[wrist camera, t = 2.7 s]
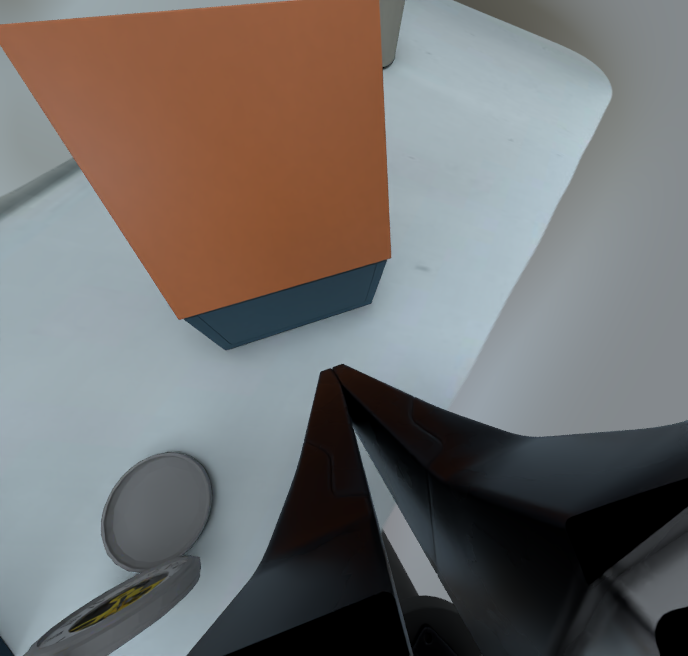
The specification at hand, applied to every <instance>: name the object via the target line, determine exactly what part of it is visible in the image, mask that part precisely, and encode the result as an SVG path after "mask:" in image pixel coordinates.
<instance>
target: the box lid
mask: <svg viewBox="0 0 688 656" xmlns="http://www.w3.org/2000/svg"><path fill="white" fill-rule="evenodd" d="M0 45H1V47H2V48H3V50H4V52H5V53H6V55H7V56H8V58H9V59H10V61H11V62H12V64H13V65H14V67H15V68H16V70H17V71H18V73H19V75H20V76H21V78H22V79H23V81H24V82H25V84H26V85H27V87H28V88H29V90H30V92H31V93H32V95H33V96H34V98H35V99H36V101H37V102H38V104H39V105H40V107H41V108H42V110H43V112H44V113H45V115H46V116H47V118H48V119H49V121H50V122H51V124H52V125H53V127H54V129H55V130H56V132H57V133H58V135H59V136H60V138H61V139H62V141H63V142H64V144H65V145H66V147H67V148H68V150H69V152H70V153H71V155H72V156H73V158H74V159H75V161H76V162H77V164H78V166H79V167H80V169H81V170H82V172H83V173H84V175H85V176H86V178H87V179H88V181H89V182H90V184H91V186H92V187H93V189H94V190H95V192H96V193H97V195H98V196H99V198H100V199H101V201H102V202H103V204H104V206H105V207H106V209H107V210H108V212H109V213H110V215H111V216H112V218H113V219H114V221H115V222H116V224H117V226H118V227H119V229H120V230H121V232H122V233H123V235H124V236H125V238H126V239H127V241H128V242H129V244H130V246H131V247H132V249H133V250H134V252H135V253H136V255H137V256H138V258H139V259H140V261H141V263H142V264H143V266H144V267H145V269H146V270H147V272H148V273H149V275H150V276H151V278H152V279H153V281H154V283H155V284H156V286H157V287H158V289H159V290H160V292H161V293H162V295H163V296H164V298H165V299H166V301H167V303H168V304H169V306H170V307H171V309H172V310H173V312H174V313H175V315H176V316H177V318H178V319H179V320H181V319H184V318H187V317H191V316H194V315H198V314H201V313H205V312H208V311H211V310H215V309H218V308H222V307H225V306H229V305H232V304H235V303H239V302H242V301H246V300H249V299H253V298H256V297H259V296H263V295H266V294H270V293H273V292H277V291H280V290H283V289H287V288H290V287H294V286H297V285H301V284H304V283H307V282H311V281H314V280H318V279H321V278H325V277H328V276H331V275H335V274H338V273H342V272H345V271H349V270H352V269H355V268H359V267H362V266H366V265H369V264H373V263H376V262H379V261H383V260H386V259H390V258H391V242H390V220H389V199H388V177H387V155H386V134H385V112H384V91H383V69H382V47H381V26H380V4H379V0H293V1H281V2H268V3H256V4H244V5H232V6H221V7H207V8H196V9H183V10H171V11H159V12H148V13H134V14H122V15H110V16H99V17H86V18H73V19H62V20H49V21H37V22H25V23H12V24H0Z"/></svg>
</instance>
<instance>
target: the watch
mask: <svg viewBox="0 0 688 656" xmlns="http://www.w3.org/2000/svg"><path fill="white" fill-rule="evenodd" d="M0 656H13V654H12V653H11V652H10V650H9V649H8V647H7V646H6V644H5V643H4V642H3V640H2V639H1V637H0Z"/></svg>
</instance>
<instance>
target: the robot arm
mask: <svg viewBox="0 0 688 656" xmlns="http://www.w3.org/2000/svg"><path fill="white" fill-rule="evenodd" d="M353 428H354V429H355V431H356V433H357V435H358V437H359V439H360V440H361V442H362V444H363V446H364V447H365V449H366V451H367V453H368V454H369V456H370V458H371V460H372V461H373V463H374V465H375V467H376V468H377V470H378V472H379V474H380V475H381V477H382V479H383V481H384V482H385V484H386V486H387V488H388V489H389V491H390V493H391V495H392V496H393V498H394V500H395V502H396V503H397V505H398V507H399V509H400V510H401V512H402V514H403V516H404V517H405V519H406V521H407V523H408V525H409V526H410V528H411V530H412V532H413V533H414V535H415V537H416V538H417V540H418V542H419V544H420V546H421V547H422V549H423V551H424V553H425V554H426V556H427V558H428V559H429V561H430V563H431V565H432V566H433V568H434V570H435V572H436V573H437V574H438V577H439V579H440V581H441V583H442V584H443V586H444V588H445V590H446V591H447V593H448V595H449V596H450V598H451V600H452V602H453V604H454V605H455V607H456V609H457V611H458V612H459V614H460V616H461V618H462V619H463V621H464V623H465V625H466V626H467V628H468V630H469V632H470V633H471V635H472V637H473V639H474V640H475V642H476V644H477V646H478V647H479V649H480V651H481V653H482V654H483V656H688V420H686V421H684V422H680V423H676V424H672V425H667V426H661V427H655V428H646V429H637V430H625V431H611V432H598V433H585V434H572V435H561V436H547V437H529V436H521V435H517V434H513V433H510V432H506V431H503V430H500V429H498V428H495V427H492V426H489V425H486V424H483V423H480V422H477V421H475V420H471V419H468V418H466V417H463V416H460V415H457V414H455V413H452V412H449V411H447V410H444V409H441V408H439V407H436V406H434V405H432V404H429V403H427V402H425V401H423V400H420V399H418V398H416V397H413V396H411V395H409V394H407V393H405V392H403V391H401V390H398V389H396V388H394V387H392V386H390V385H388V384H385V383H383V382H381V381H379V380H377V379H375V378H372V377H370V376H368V375H366V374H364V373H362V372H359V371H357V370H355V369H353V368H351V367H349V366H346V365H344V364H341V365H338V366H335V367H333V368H332V369H331V368H330V369H327V370H324V371H321V372H320V376H319V380H318V384H317V388H316V393H315V397H314V401H313V405H312V409H311V414H310V418H309V422H308V426H307V430H306V435H305V439H304V443H303V447H302V451H301V455H300V459H299V462H298V466H297V470H296V473H295V475H294V478H293V481H292V484H291V487H290V490H289V492H288V495H287V498H286V500H285V503H284V506H283V508H282V511H281V514H280V516H279V519H278V522H277V524H276V527H275V529H274V532H273V535H272V537H271V540H270V543H269V545H268V548H267V550H266V552H265V554H264V556H263V559H262V561H261V562H260V564H259V566H258V568H257V570H256V571H255V573H254V574H253V576H252V577H251V579H250V580H249V581H248V582H247V584H246V585H245V586H244V587H243V588H242V590H241V591H240V592H239V593H238V594H237V596H236V597H235V598H234V599H233V600H232V602H231V603H230V604H229V605H228V606H227V608H226V609H225V610H224V611H223V612H222V614H221V615H220V616H219V617H218V618H217V620H216V621H215V622H214V623H213V624H212V626H211V627H210V628H209V629H208V630H207V632H206V633H205V634H204V635H203V636H202V638H201V639H200V640H199V641H198V642H197V644H196V645H195V646H194V647H193V648H192V650H191V651H190V652H189V653H188V654H187V656H459V655H458V654H457V653H456V652H455V651H454V650H453V649H452V647H451V646H450V645H449V644H448V643H447V642H446V641H445V640H444V639H443V638H442V637H441V636H440V635H439V634H438V633H437V632H436V631H435V630H434V629H433V628H432V627H431V626H430V625H429V624H426V623H425V624H422V625H421V627H420V628H419V630H418V632H417V634H416V636H415V637H414V639H413V641H412V643H411V645H410V641H409V637H408V634H407V630H406V626H405V622H404V618H403V615H402V611H401V607H400V603H399V599H398V596H397V592H396V588H395V584H394V581H393V577H392V573H391V569H390V565H389V562H388V558H387V554H386V550H385V546H384V543H383V539H382V535H381V531H380V527H379V524H378V520H377V516H376V512H375V508H374V505H373V501H372V497H371V493H370V489H369V486H368V482H367V478H366V474H365V470H364V467H363V463H362V459H361V455H360V452H359V448H358V444H357V440H356V436H355V433H354V429H353ZM427 633H430V637H429V638H428V639H425V635H426V634H427Z"/></svg>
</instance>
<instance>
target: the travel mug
mask: <svg viewBox="0 0 688 656" xmlns="http://www.w3.org/2000/svg"><path fill="white" fill-rule="evenodd" d="M404 3H405V0H379V4H380V26H381V47H382V67H385V66H387V65H389V64H391V63H392V62H393V60H394V57H395V52H396V46H397V41H398V36H399V30H400V25H401V19H402V14H403V9H404Z"/></svg>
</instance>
